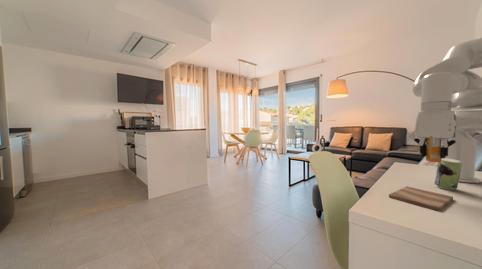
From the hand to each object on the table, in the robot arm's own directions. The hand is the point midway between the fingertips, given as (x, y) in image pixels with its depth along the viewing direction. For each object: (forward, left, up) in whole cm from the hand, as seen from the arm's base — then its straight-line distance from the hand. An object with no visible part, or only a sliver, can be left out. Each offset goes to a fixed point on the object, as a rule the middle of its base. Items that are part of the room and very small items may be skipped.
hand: (433, 156), depth 67 cm
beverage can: (-10, +2, -14) cm, 17 cm away
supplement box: (0, 0, -2) cm, 2 cm away
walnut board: (+12, 0, -14) cm, 18 cm away
